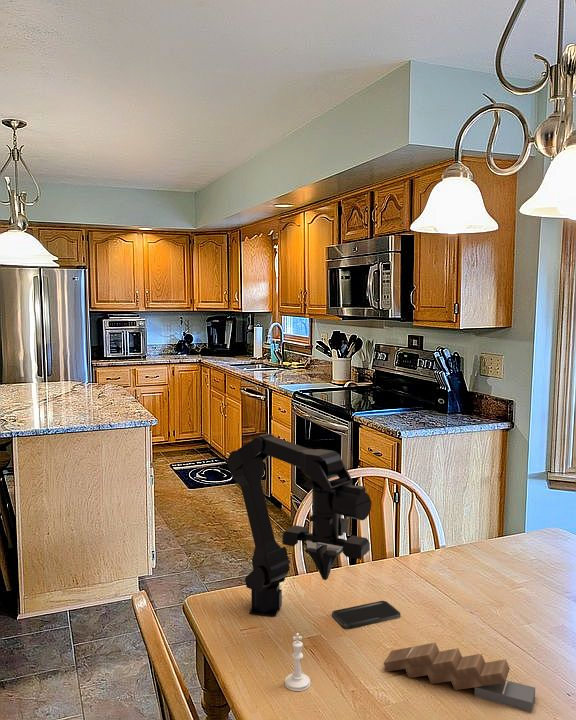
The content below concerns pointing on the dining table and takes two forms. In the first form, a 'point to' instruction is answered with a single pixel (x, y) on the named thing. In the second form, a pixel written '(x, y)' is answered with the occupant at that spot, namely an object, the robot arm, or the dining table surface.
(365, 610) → the phone
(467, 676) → the domino
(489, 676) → the domino
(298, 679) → the chess piece
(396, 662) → the domino
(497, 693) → the domino
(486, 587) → the dining table surface
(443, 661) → the domino
